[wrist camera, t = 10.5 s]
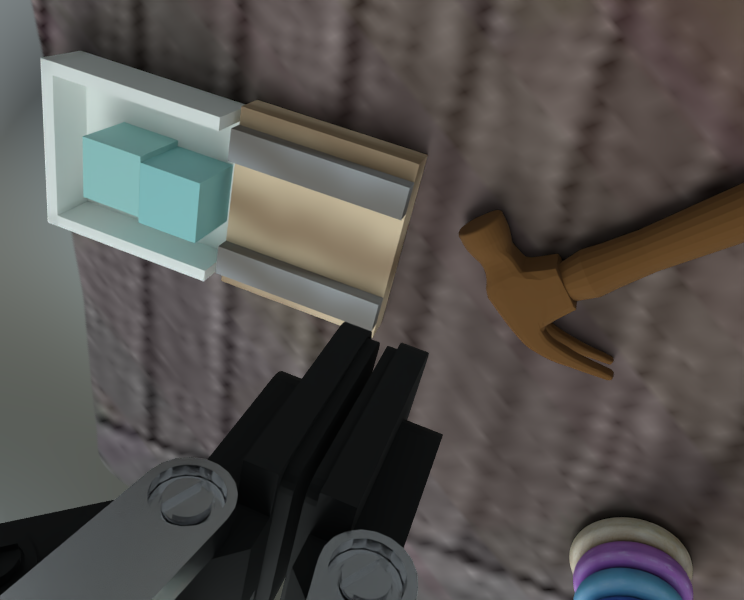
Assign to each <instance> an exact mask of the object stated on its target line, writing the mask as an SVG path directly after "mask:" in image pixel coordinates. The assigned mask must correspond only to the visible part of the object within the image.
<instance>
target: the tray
mask: <svg viewBox="0 0 744 600" xmlns="http://www.w3.org/2000/svg"><path fill="white" fill-rule="evenodd" d="M41 80H42V100H43V101H42V102H43V123H44V124H43V125H44V147H45V169H46V191H47V214H48V222H49V223H51V224H54V225H56V226H59V227H62V228H64V229H67V230H69V231H72V232H75V233H77V234H80V235H83V236H85V237H88V238H91V239H93V240H96V241H99V242H101V243H104V244H106V245H109V246H112V247H114V248H117V249H120V250H122V251H125V252H128V253H130V254H133V255H136V256H138V257H141V258H143V259H146V260H149V261H151V262H154V263H157V264H159V265H162V266H165V267H167V268H170V269H173V270H175V271H178V272H180V273H183V274H186V275H188V276H191V277H194V278H196V279H199V280H202V281H205V280H206V279H207V278H209V277H210V276H211V275H212V274H214V273H215V272H216V263H217V254H218V246H219V245H221V244H222V243H223V242H225V241H226V237H227V228H228V219H229V210H230V202H231V193H232V184H233V176H234V167H235V163H232V162H229V161H228V152H229V143H230V134H231V128H233V127H235V126H237V125H239V123H240V115H241V106H243V105H246V104H243V103H240V102H237V101H234V100H231V99H227V98H224V97H221V96H218V95H215V94H212V93H209V92H206V91H203V90H200V89H197V88H194V87H191V86H188V85H185V84H181V83H178V82H175V81H172V80H169V79H166V78H163V77H160V76H157V75H154V74H151V73H148V72H145V71H142V70H139V69H136V68H132V67H129V66H126V65H123V64H120V63H117V62H114V61H111V60H108V59H105V58H102V57H99V56H96V55H93V54H90V53H86V52H83V51H75V52H70V53H64V54H59V55H53V56H48V57H42V58H41ZM123 122H126V123H128V124H131V125H134V126H137V127H140V128H143V129H146V130H149V131H152V132H155V133H158V134H161V135H164V136H167V137H170V138H173V139H175V140H178V146H179V147H182V148H185V149H188V150H191V151H194V152H197V153H199V154H202V155H205V156H208V157H211V158H214V159H217V160H220V161H223V162H226V163H229V164H232V165H233V172H232V181H231V189H230V198H229V207H228V216H227V221H226V222H225V223H224V224H222V225H221V226H219V227H218V228H216V229H215V230H213V231H212V232H211V233H209V234H208V235H206V236H205V237H203V238H202V239H201V240H199V241H198V242H196V243H193V242H190V241H187V240H184V239H182V238H179V237H176V236H173V235H171V234H168V233H165V232H163V231H160V230H157V229H154V228H152V227H149V226H146V225H144V224H141V223H138V220H139V217H137V216H134V215H131V214H129V213H126V212H123V211H120V210H118V209H115V208H112V207H109V206H107V205H104V204H101V203H99V202H96V201H93V200H90V199H88V198H85V197H83V137H82V136H85V135H88V134H91V133H94V132H97V131H99V130H102V129H105V128H108V127H111V126H114V125H117V124H120V123H123Z"/></svg>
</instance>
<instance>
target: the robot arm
mask: <svg viewBox="0 0 744 600" xmlns="http://www.w3.org/2000/svg"><path fill="white" fill-rule="evenodd" d="M371 337H372V331H369V330H367V329H364V328H361V327H359V326H356V325H353V324H351V323H348V322H343V323H342V324H341V326H340V327H339V329H338V330H337V331H336V333H335V334H334V335H333V337H332V338H331V340H330V341H329V342H328V344H327V345H326V346H325V348H324V349H323V351H322V352H321V353H320V355H319V356H318V357H317V359H316V360H315V362H314V363H313V364H312V366H311V367H310V368H309V370H308V371H307V373H306V374H305V375H304V377H303V378H302V379H301V378H298V377H296V376H293V375H291V374H288V373H286V372H283V371H280V372H278V373H277V374H276V375H275V376H274V377H273V378H272V379H271V381H270V382H269V383H268V384H267V386H266V387H265V388H264V389H263V391H262V392H261V393H260V394H259V396H258V397H257V398H256V399H255V401H254V402H253V403H252V404H251V406H250V407H249V408H248V409H247V411H246V412H245V413H244V414H243V416H242V417H241V418H240V419H239V421H238V422H237V423H236V424H235V426H234V427H233V428H232V429H231V431H230V432H229V433H228V434H227V436H226V437H225V438H224V439H223V441H222V442H221V443H220V444H219V446H218V447H217V448H216V450H215V451H214V452H213V453H212V455H211V456H210V457H209V458H208V460H207V459H201V458H195V457H185V458H175V459H172V460H169V461H166V462H163V463H161V464H159V465H158V466H156V467H154V468H153V469H151V470H150V471H148V472H147V473H146V474H145V475H144V476H142V477H141V478H140V479H139V480H138V481H136V482H135V483H134V484H133V485H132V486H130V487H129V488H128V489H127V490H126V491H124V492H123V493H122V494H121V495H120V496H119V497H117V498H116V499H115V500H111V501H106V502H101V503H97V504H92V505H87V506H82V507H77V508H73V509H68V510H63V511H59V512H53V513H49V514H44V515H39V516H34V517H30V518H25V519H20V520H15V521H10V522H5V523H1V524H0V600H274V598H275V596H276V594H277V592H278V590H279V588H280V586H281V585H282V583H283V581H284V579H285V582H284V586H283V590H282V594H281V598H280V600H416V599H417V591H418V579H417V571H416V569H415V566H414V564H413V561H412V559H411V558H410V556H409V555H408V554H407V552H406V551H405V550H404V545H405V542H406V539H407V536H408V534H409V531H410V528H411V525H412V522H413V519H414V516H415V514H416V511H417V508H418V505H419V502H420V499H421V496H422V493H423V491H424V488H425V485H426V482H427V479H428V476H429V473H430V470H431V468H432V465H433V462H434V459H435V456H436V453H437V450H438V447H439V445H440V442H441V439H442V436H443V434H440V433H438V432H435V431H433V430H430V429H428V428H425V427H422V426H420V425H417V424H415V423H412V422H410V421H407V419H408V416H409V413H410V410H411V407H412V404H413V401H414V398H415V395H416V392H417V389H418V386H419V383H420V380H421V377H422V374H423V371H424V367H425V364H426V361H427V358H428V355H429V353H428V352H425V351H423V350H420V349H417V348H415V347H412V346H409V345H407V344H404V343H401V344H400V345H399V347H398V349H395V348H393V347H390V346H387V348H386V349H385V351H384V353H383V355H382V356H381V358H380V360H379V362H378V363H377V365H376V367H375V369H374V370H373V368H374V364H375V361H376V357H377V354H378V350H379V346H380V343H379V342H377V341H374V340H371ZM372 371H373V372H372ZM285 577H286V578H285Z"/></svg>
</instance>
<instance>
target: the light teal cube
mask: <svg viewBox="0 0 744 600" xmlns="http://www.w3.org/2000/svg"><path fill="white" fill-rule="evenodd" d="M82 137H83V197H85V198H88V199H90V200H93V201H96V202H99V203H101V204H104V205H107V206H109V207H112V208H115V209H118V210H120V211H123V212H126V213H129V214H131V215H134V216H137V217H139V190H140V163H141V162H143V161H145V160H148V159H150V158H152V157H154V156H157V155H159V154H161V153H163V152H166V151H168V150H170V149H172V148H175V147H177V146H178V140H175V139H173V138H170V137H167V136H164V135H161V134H158V133H155V132H152V131H149V130H146V129H143V128H140V127H137V126H134V125H131V124H128V123H126V122H123V123H120V124H117V125H114V126H111V127H108V128H105V129H102V130H99V131H97V132H94V133H91V134H88V135H85V136H82Z"/></svg>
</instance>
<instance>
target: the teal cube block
mask: <svg viewBox="0 0 744 600" xmlns="http://www.w3.org/2000/svg"><path fill="white" fill-rule="evenodd" d="M232 172H233V165H232V164H229V163H226V162H223V161H220V160H217V159H214V158H211V157H208V156H205V155H202V154H199V153H197V152H194V151H191V150H188V149H185V148H182V147H179V146H177V147H175V148H172V149H170V150H168V151H166V152H163V153H161V154H159V155H157V156H154V157H152V158H150V159H148V160H145V161H143V162H141V163H140V190H139V220H138V223H141V224H144V225H146V226H149V227H152V228H154V229H157V230H160V231H163V232H165V233H168V234H171V235H173V236H176V237H179V238H182V239H184V240H187V241H190V242H193V243H196V242H198V241H199V240H201V239H202V238H203V237H205V236H206V235H208V234H209V233H211V232H212V231H213V230H215V229H216V228H218V227H219V226H221V225H222V224H224V223H225V222H226V221H227V216H228V207H229V198H230V189H231V181H232Z"/></svg>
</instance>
